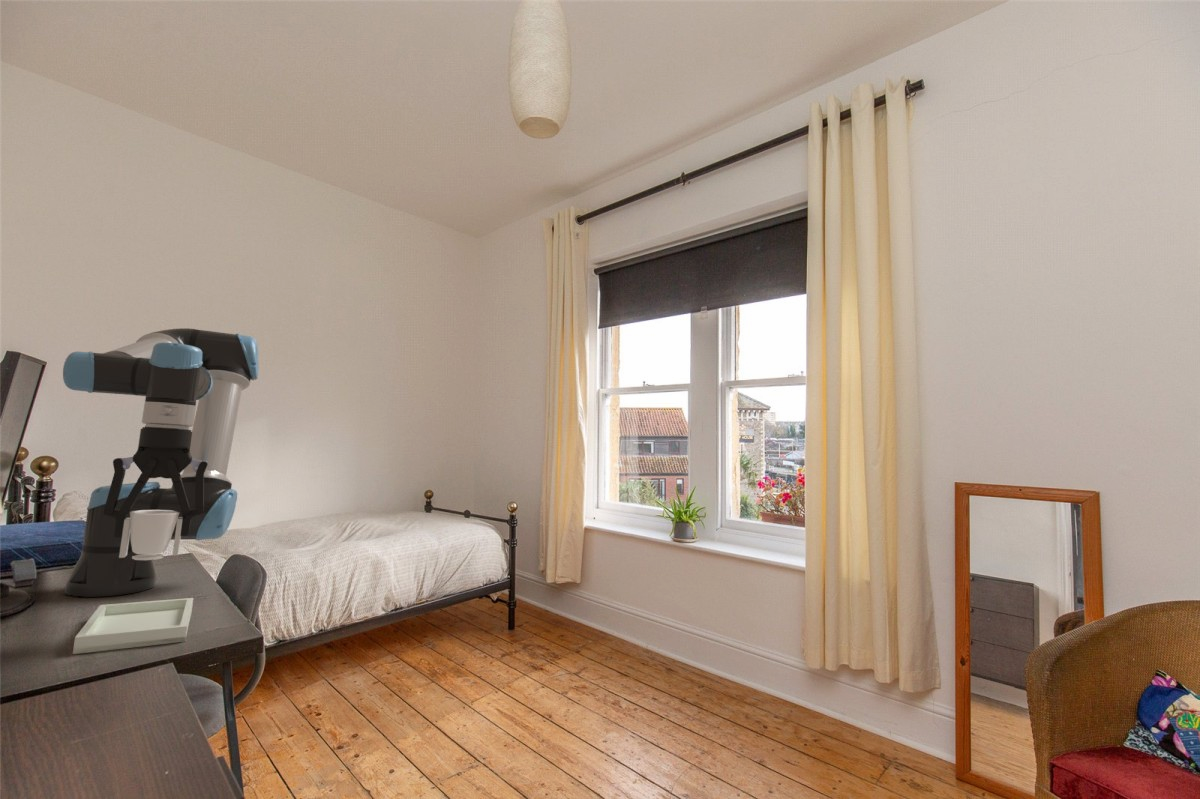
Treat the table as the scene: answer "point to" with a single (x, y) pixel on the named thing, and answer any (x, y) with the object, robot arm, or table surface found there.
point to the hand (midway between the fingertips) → (149, 555)
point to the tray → (135, 625)
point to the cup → (151, 532)
